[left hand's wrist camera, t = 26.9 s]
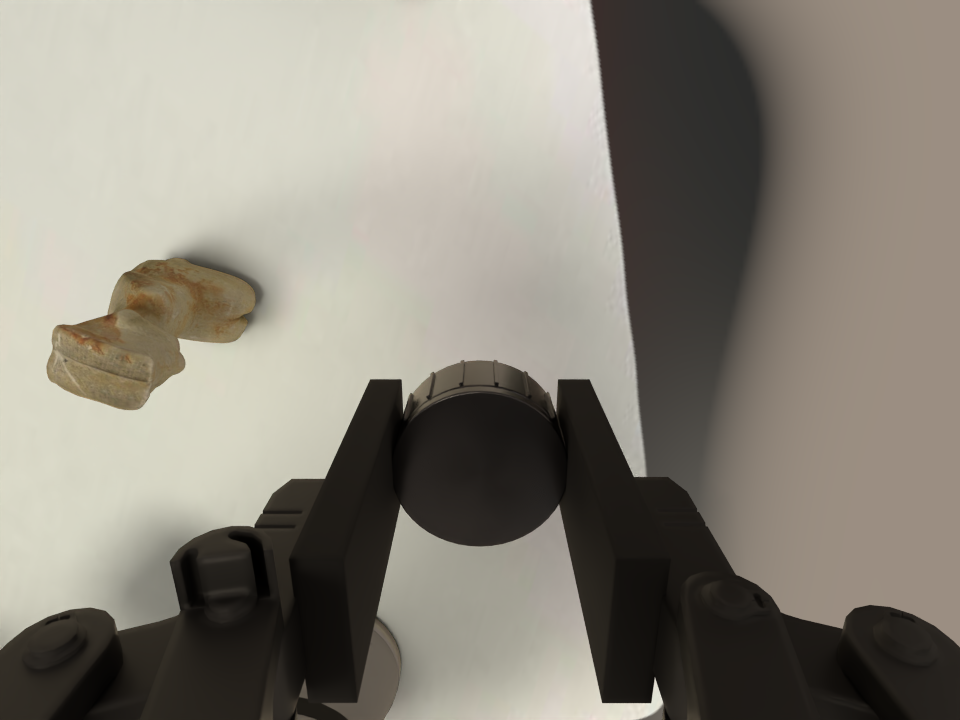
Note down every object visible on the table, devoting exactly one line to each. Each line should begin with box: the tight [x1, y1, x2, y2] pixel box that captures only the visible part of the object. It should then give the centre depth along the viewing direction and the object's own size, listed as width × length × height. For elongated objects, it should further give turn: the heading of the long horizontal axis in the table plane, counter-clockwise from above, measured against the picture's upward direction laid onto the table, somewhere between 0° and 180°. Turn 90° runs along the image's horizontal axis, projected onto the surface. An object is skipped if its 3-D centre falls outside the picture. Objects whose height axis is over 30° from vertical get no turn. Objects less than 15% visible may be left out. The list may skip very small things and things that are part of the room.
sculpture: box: [47, 258, 255, 410], centre depth 36 cm, size 6×7×15 cm
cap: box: [392, 360, 568, 546], centre depth 14 cm, size 4×4×2 cm
